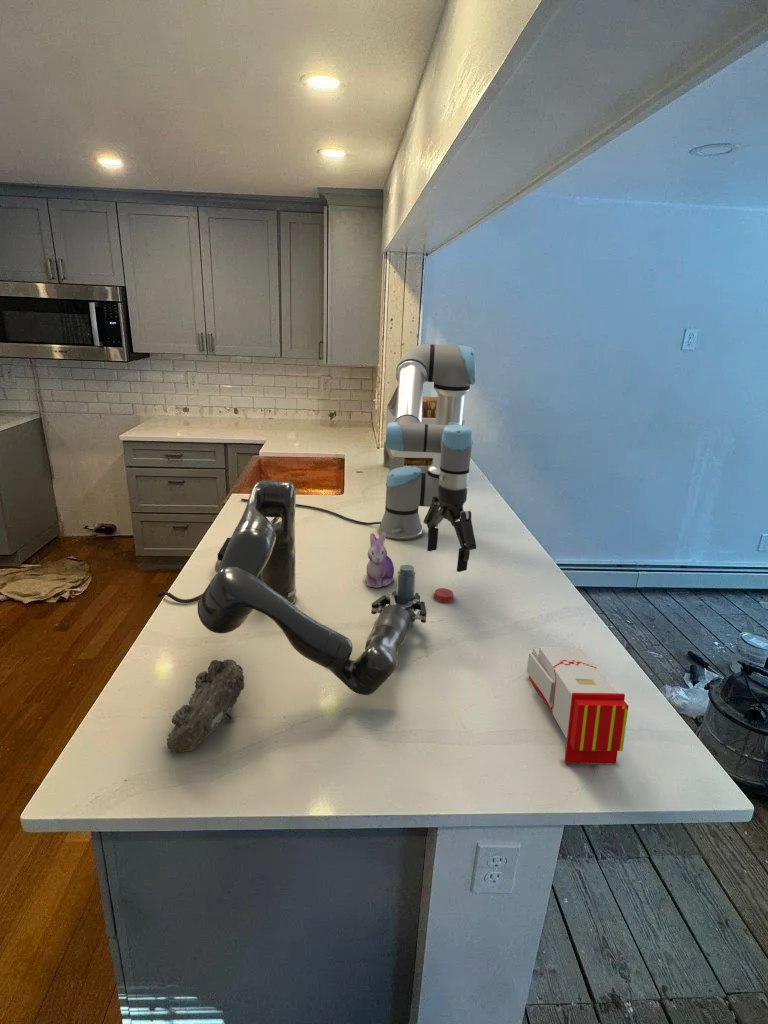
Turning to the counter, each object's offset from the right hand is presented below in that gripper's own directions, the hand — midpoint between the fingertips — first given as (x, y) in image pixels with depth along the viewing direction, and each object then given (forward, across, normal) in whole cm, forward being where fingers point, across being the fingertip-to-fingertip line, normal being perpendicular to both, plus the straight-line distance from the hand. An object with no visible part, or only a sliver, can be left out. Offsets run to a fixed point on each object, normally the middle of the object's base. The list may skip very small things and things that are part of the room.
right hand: (446, 560), depth 154 cm
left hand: (+4, +5, -16) cm, 17 cm away
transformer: (+15, -107, +64) cm, 125 cm away
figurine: (+11, -15, -12) cm, 22 cm away
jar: (+10, +7, -18) cm, 22 cm away
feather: (+13, -79, -18) cm, 82 cm away
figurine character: (+11, -41, -47) cm, 63 cm away
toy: (+10, +51, -7) cm, 52 cm away
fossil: (+9, +20, -69) cm, 72 cm away
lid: (+10, +1, -1) cm, 10 cm away
